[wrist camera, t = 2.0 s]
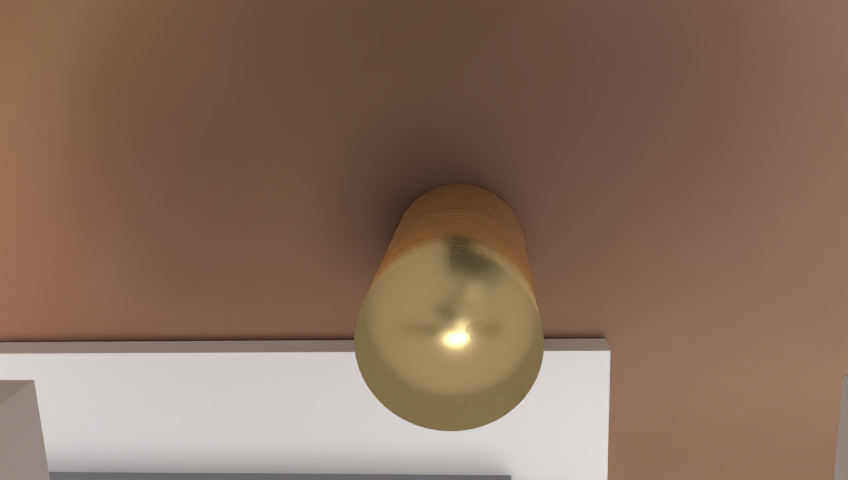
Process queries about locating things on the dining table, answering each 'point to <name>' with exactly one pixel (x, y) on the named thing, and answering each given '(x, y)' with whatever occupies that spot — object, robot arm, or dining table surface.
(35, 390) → the robot arm
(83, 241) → the dining table surface
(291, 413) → the white grey flat tray
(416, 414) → the pin
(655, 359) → the dining table surface
